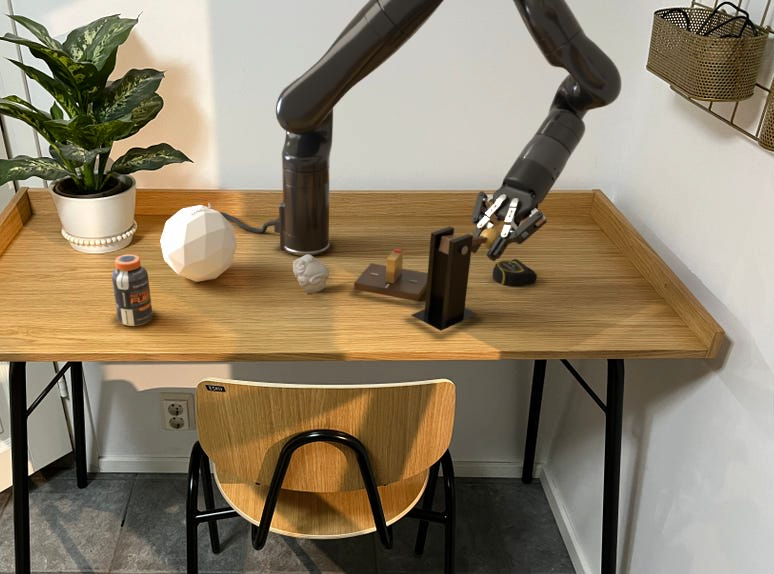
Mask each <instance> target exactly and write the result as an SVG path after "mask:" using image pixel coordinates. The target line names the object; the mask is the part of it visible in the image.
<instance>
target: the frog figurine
mask: <svg viewBox="0 0 774 574" xmlns="http://www.w3.org/2000/svg"><path fill="white" fill-rule="evenodd" d="M292 271H293V274H294V276H295V278H297V279H296V280H297V281H298V283H299V287H300V288H301V290H303V292H305V293H307V294H309V295H314V294H318V293H320V292H323V290H324V289H325V288H326V286H327V281H328V279H329V278H330V269H329V268H328V267H327V266H326V265H325V264H324V263H323V262H322V261H320V260H319V259H317V258H316V257H314V256H311V255H309V254H307V255H304V256H300V257H298V258H297V259H295V260H293V261H292Z"/></svg>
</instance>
